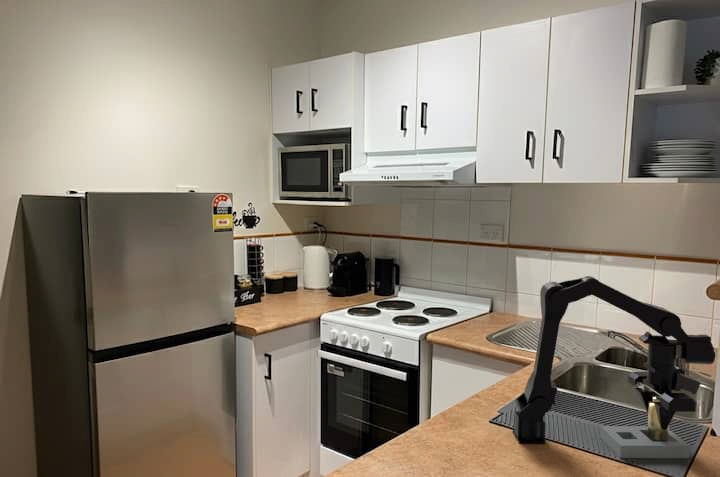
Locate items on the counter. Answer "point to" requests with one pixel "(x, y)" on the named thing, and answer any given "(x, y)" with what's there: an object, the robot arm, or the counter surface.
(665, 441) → the socket block
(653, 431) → the brass fitting
